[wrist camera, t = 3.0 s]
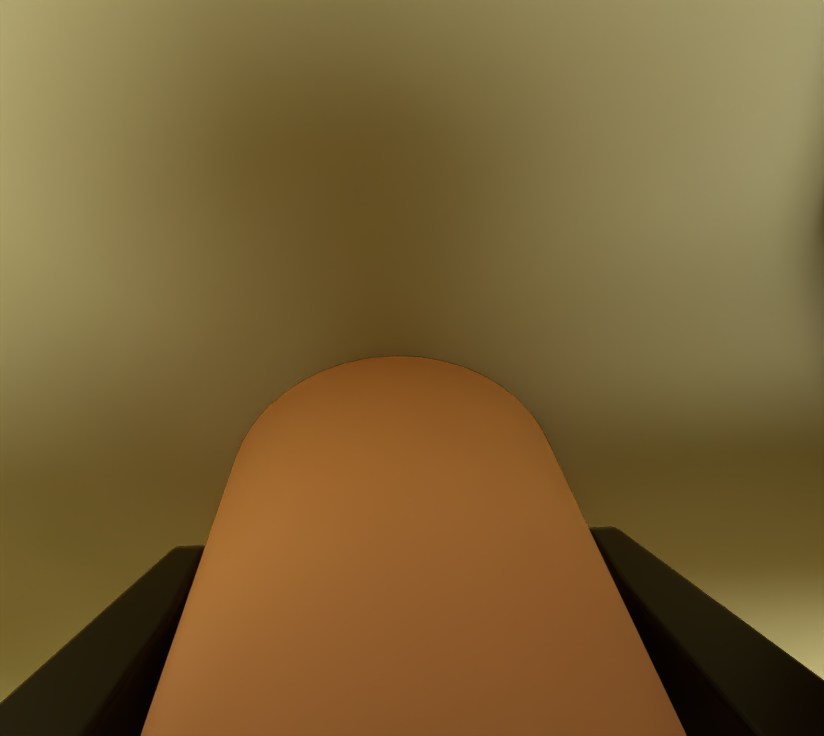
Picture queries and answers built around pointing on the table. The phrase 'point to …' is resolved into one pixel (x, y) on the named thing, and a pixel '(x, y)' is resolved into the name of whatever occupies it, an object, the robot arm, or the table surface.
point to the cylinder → (403, 576)
